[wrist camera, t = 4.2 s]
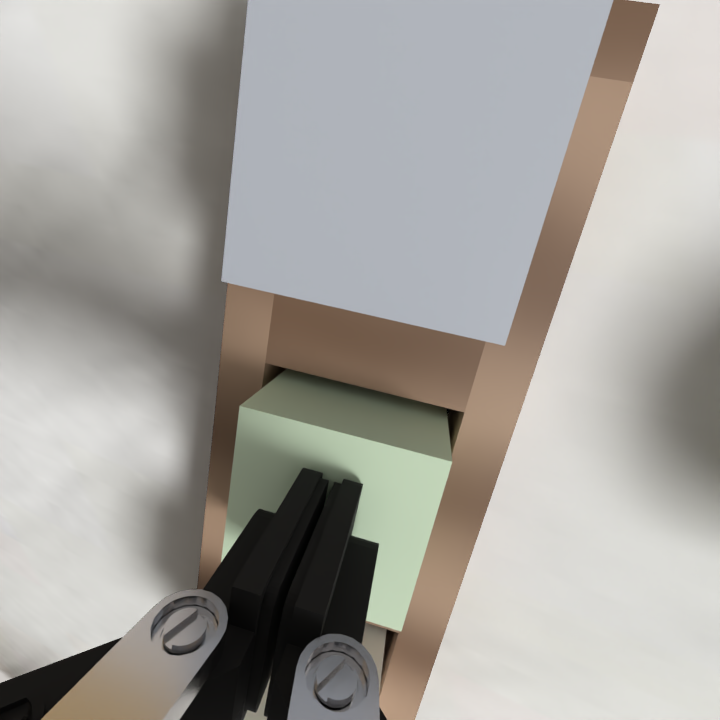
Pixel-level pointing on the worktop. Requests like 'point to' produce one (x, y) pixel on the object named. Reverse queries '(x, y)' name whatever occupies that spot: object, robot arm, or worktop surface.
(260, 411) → the sage button
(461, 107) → the grey button
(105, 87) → the worktop surface
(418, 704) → the button housing
